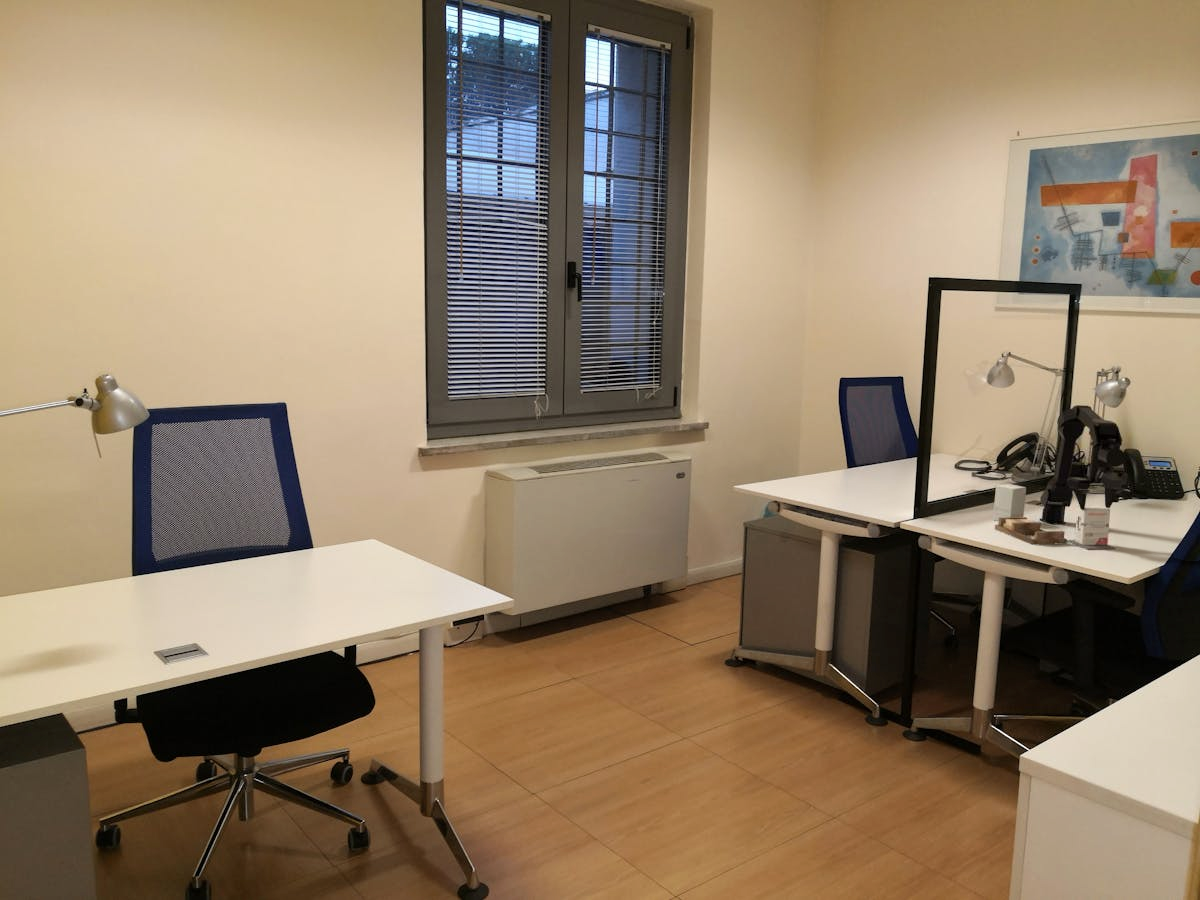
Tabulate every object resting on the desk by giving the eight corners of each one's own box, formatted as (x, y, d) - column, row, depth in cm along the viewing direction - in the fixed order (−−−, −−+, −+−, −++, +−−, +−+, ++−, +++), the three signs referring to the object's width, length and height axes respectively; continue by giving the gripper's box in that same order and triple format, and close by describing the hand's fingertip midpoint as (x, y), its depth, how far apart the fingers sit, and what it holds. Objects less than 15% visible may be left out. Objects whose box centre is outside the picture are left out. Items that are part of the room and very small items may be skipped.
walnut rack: (1026, 528, 335) (1028, 516, 334) (1066, 543, 315) (1067, 531, 315) (994, 529, 332) (995, 517, 331) (1032, 544, 313) (1034, 532, 312)
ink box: (1098, 541, 318) (1102, 505, 316) (1107, 545, 313) (1111, 508, 311) (1073, 541, 317) (1076, 505, 315) (1081, 545, 312) (1085, 508, 310)
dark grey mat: (1092, 540, 320) (1092, 539, 320) (1114, 549, 311) (1114, 547, 311) (1066, 541, 318) (1066, 540, 318) (1087, 549, 309) (1087, 548, 309)
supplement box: (1023, 522, 343) (1027, 487, 341) (1009, 524, 340) (1013, 488, 338) (1005, 518, 350) (1009, 483, 348) (991, 519, 346) (995, 484, 344)
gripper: (1092, 466, 300) (1087, 515, 303) (1144, 465, 304) (1138, 514, 307) (1068, 459, 311) (1063, 507, 313) (1118, 459, 315) (1113, 506, 317)
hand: (1094, 509), depth 312 cm, fingers open, 9 cm apart
